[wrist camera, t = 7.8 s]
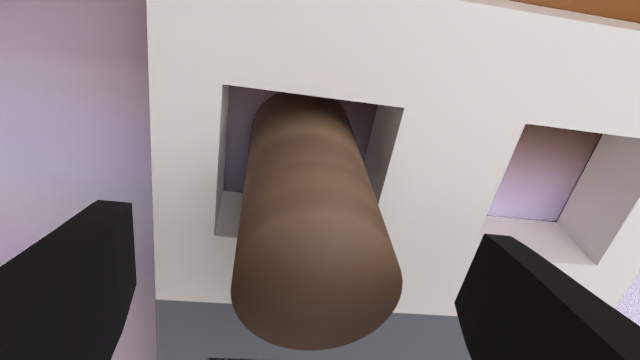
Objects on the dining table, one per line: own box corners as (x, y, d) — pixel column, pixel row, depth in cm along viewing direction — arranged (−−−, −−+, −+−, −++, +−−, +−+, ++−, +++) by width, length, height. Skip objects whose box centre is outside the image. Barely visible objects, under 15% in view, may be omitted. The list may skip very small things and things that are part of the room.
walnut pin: (341, 182, 15) (382, 353, 9) (248, 174, 15) (227, 348, 9) (358, 94, 14) (421, 230, 8) (255, 82, 13) (235, 216, 7)
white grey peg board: (483, 418, 23) (504, 468, 21) (173, 412, 21) (160, 468, 19) (707, 35, 14) (787, 56, 11) (170, -59, 11) (144, -54, 9)
